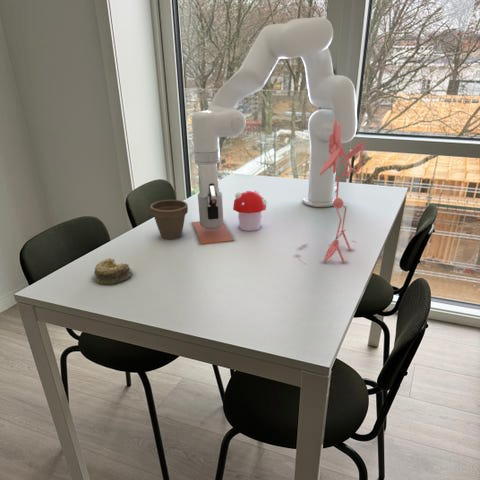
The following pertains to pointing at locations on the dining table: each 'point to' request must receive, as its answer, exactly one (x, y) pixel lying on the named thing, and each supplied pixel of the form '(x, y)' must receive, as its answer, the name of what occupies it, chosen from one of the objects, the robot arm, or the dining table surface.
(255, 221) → the mushroom
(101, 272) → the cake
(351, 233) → the dining table surface
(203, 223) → the can
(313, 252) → the dining table surface
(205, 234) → the napkin
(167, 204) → the flower pot
